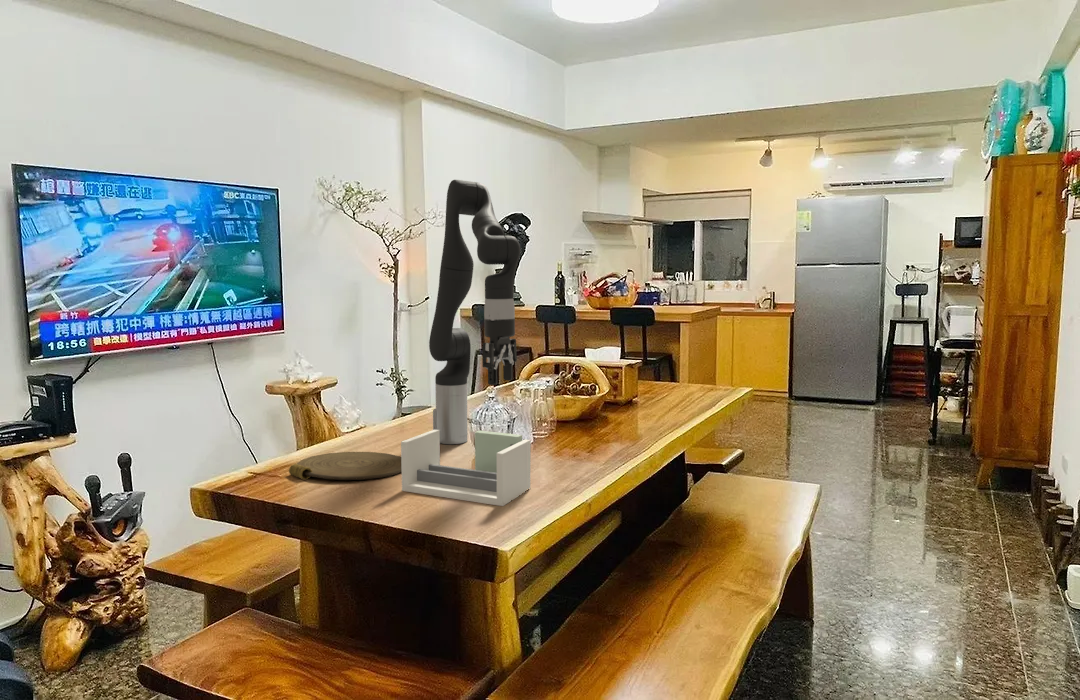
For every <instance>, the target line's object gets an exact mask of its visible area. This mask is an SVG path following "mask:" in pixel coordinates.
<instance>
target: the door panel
mask: <svg viewBox="0 0 1080 700" xmlns="http://www.w3.org/2000/svg"><path fill="white" fill-rule="evenodd" d="M521 441H523V434H515V433H507V432H506V433H505V432H497V431H487V430H477V431H475V432H474V462H475V463H474V470H479V471H487V472H495V473H497V453H498V452H500V451H502V450H504V449H506V448H508V447H510V446H512V445H514V444H516V443H518V442H521Z"/></svg>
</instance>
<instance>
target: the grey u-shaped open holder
mask: <svg viewBox="0 0 1080 700" xmlns="http://www.w3.org/2000/svg"><path fill="white" fill-rule="evenodd" d="M531 443H532V442H531V439H522V441H521V442H518V443H516V444H514V445H512V446H510V447H508V448H506V449H504V450H502V451H500V452H498V453H497V473H495V472H487V471H479V470H475V469H472V468H471V469H470V468H464V467H456V466H448V465H441V453H440V452H441V450H440V446H441V443H440V430H433V429H431V430H430V431H426V432H423V433H422V434H418V435H415V436H413V437H410V438H407V439H405V440H402V441H400V448H401V449H400V451H401V452H400V453H401V454H400V455H401V456H400V457H401V469H402V472H401V491H402V492H407V493H413V494H414V493H415V494H420V495H427V496H434V497H441V498H448V499H453V500H461V501H466V502H467V501H468V502H475V503H479V504H486V505H492V506H493V505H494V506H500V507H504V506H505V505H507V504H509V503H510V502H512V501H513V500H515V499H516V498H518V497H519V495H520V496H521V495H523V494H524V493H526V492H527V491H526V490H527V489H529V488H530V489H531ZM530 489H529V490H530ZM525 491H526V492H525ZM523 492H524V493H523ZM522 493H523V494H522ZM511 500H512V501H511Z"/></svg>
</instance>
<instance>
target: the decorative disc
mask: <svg viewBox="0 0 1080 700" xmlns="http://www.w3.org/2000/svg"><path fill="white" fill-rule="evenodd" d="M288 473H289V474H290V476H293V475H294V476H293V477H295V476H296V477H297V478H299V479H300V480H303V479H306V480H309V479H310V478H311V476H312V478H319V479H324V480H342V481H347V480H349V481H350V480H354V481H355V480H356V481H357V480H361V481H362V480H370V479H371V480H372V479H380V478H384V477H385V478H386V477H392V476H395V475H399V474H402V469H401V456H399V455H395V454H391V453H387V452H385V453H383V452H376V451H374V452H373V451H341V452H340V451H339V452H328V453H323V454H318V455H312V456H309V457H307V458H304V459H301V460H300V461H298V462H297V463H293V464H291V465H290V466H289V468H288ZM296 477H295V478H296ZM308 478H309V479H308Z"/></svg>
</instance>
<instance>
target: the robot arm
mask: <svg viewBox="0 0 1080 700" xmlns="http://www.w3.org/2000/svg"><path fill="white" fill-rule="evenodd" d="M445 203H446V204H445V222H444V223H445V225H444V239H443V246H442V247H443V248H442V253H441V260H440V261H441V262H440V267H439V269H440V270H439V280H438V287H437V288H438V291H437V297H436V305H435V311H434V315H433V321H432V324H431V330H430V335H429V340H428V347H429V353H430V355H431V357H432V359H434V360H435V361H437V362H446V363H445V366H444V367H443V368H442V369H441V370H439V372H437V373H436V374H435V380H434V381H435V383H434V384H435V408H433V410H432V427H433V428H432V430H440V445H441V444H443V445H459V444H464V443H467V442H468V435H469V433H468V377H469V374H470V372H471V371H470V369H471V345H472V344H471V339H470V335H469V334H468V332H467V331H466V330H465V329H463V328H461V327H457V328H456V327H455V328H453V327H454V322H455V321H454V320H455V318H456V315H457V312H458V310H459V309H460V306H461V305H462V303H463V302H464V301H465V299H466V297H467V296H468V294H469V291H470V289H471V287H472V282H473V275H474V274H473V273H474V260H473V256H472V255H471V251H470V250H469V248H468V246H467V244H466V242H465V239H464V238H463V235H462V232H461V228H460V227H461V226H460V215H461V216H462V215H465V216H473V218H472V221H471V230H472V233H473V235H474V238H475V239H476V240H477V247H476V255H477V258H478V260H479V261H480V262H481V263H483V264H485V265H503V268H502V269H501V271H500V272H498V273H493V274H489V275H487V276H486V277H485V279H484V306H483V307H484V308H483V314H484V315H483V316H484V317H483V318H484V319H483V320H484V336H485V337H487V338H489V342H483V343H482V368H485V369H487V384H488V385H489V386H496V385H497V384H498V366H499V363H500V362H502V365H503V366H502V367H503V370H502V371H503V373H502V374H503V380H504V381H512V380H513V366H514V365H515V362H516V363H517V361H518V360H517V359H518V358H517V357H518V356H517V339H516V338H513V337H514V336H515V335H516V318H515V317H516V315H515V314H516V313H515V311H516V309H515V301H514V300H515V299H514V281H515V274H516V269H517V265H518V262H519V259H520V254H521V245H520V242H519V240H518V239H517V237H515V236H512V235H505V232H504V229H503V227H502V226H501V224H500V223H499V220H497V218H496V215H495V211H494V207H493V202H492V199H491V195H490V192H489V189H488V188H487V186H486V185H485V184H484V183H481V182H477V181H471V180H463V179H453V180H451V181H450V183H448V187H447V192H446V202H445ZM511 337H512V338H511Z"/></svg>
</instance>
